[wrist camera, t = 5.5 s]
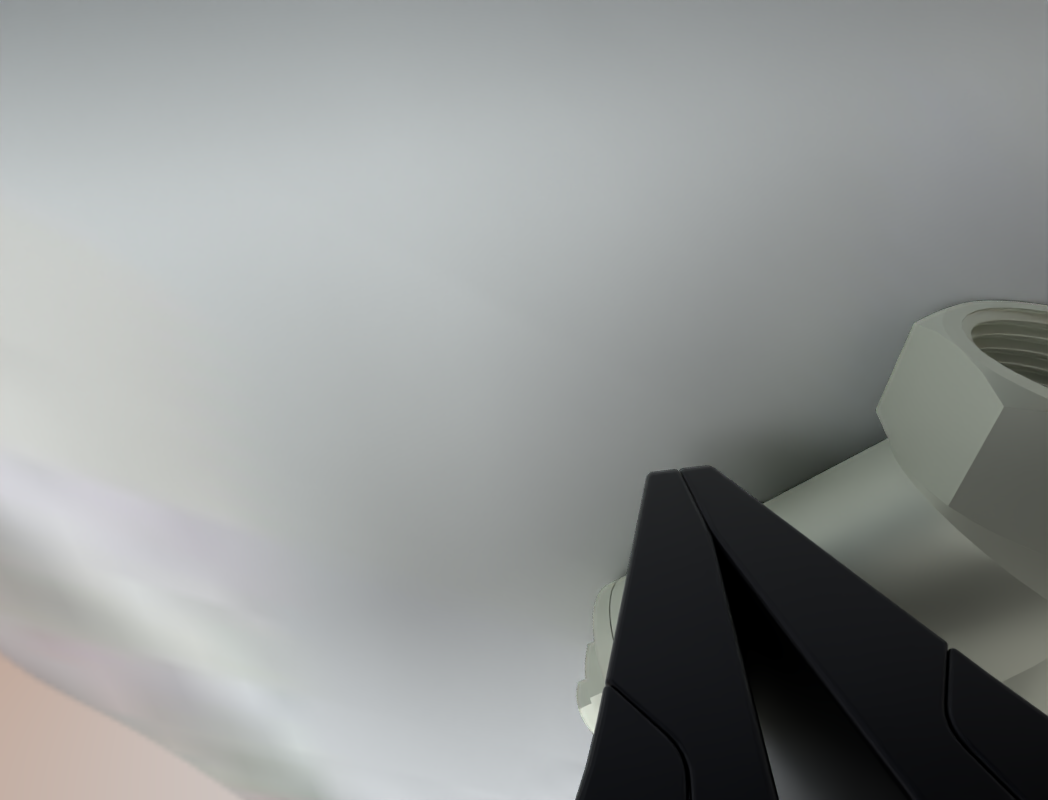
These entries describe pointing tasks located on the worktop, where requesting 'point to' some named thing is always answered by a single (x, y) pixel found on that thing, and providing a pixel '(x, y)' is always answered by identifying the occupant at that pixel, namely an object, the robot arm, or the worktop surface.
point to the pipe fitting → (937, 497)
